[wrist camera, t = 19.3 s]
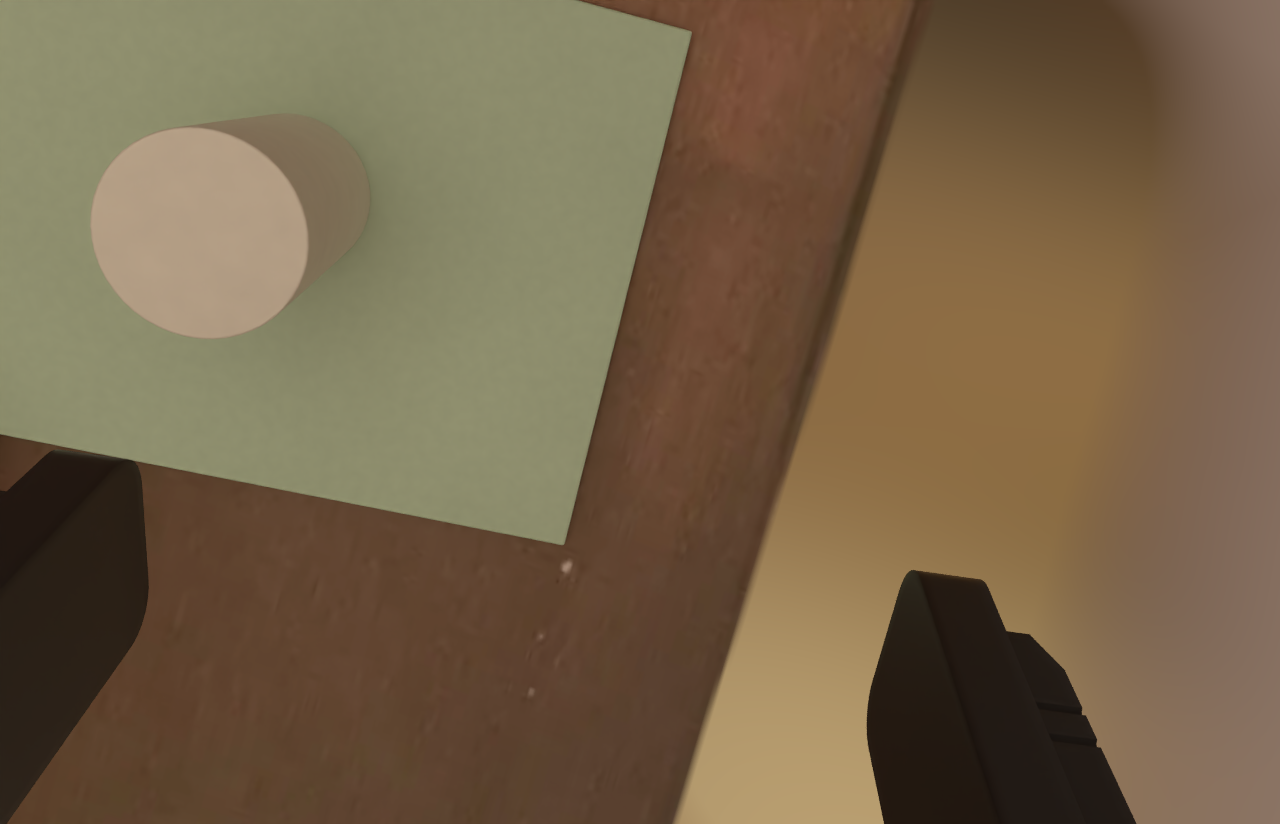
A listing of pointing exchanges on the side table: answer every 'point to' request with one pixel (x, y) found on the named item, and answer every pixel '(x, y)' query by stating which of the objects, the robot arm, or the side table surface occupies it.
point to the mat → (372, 268)
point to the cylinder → (227, 220)
